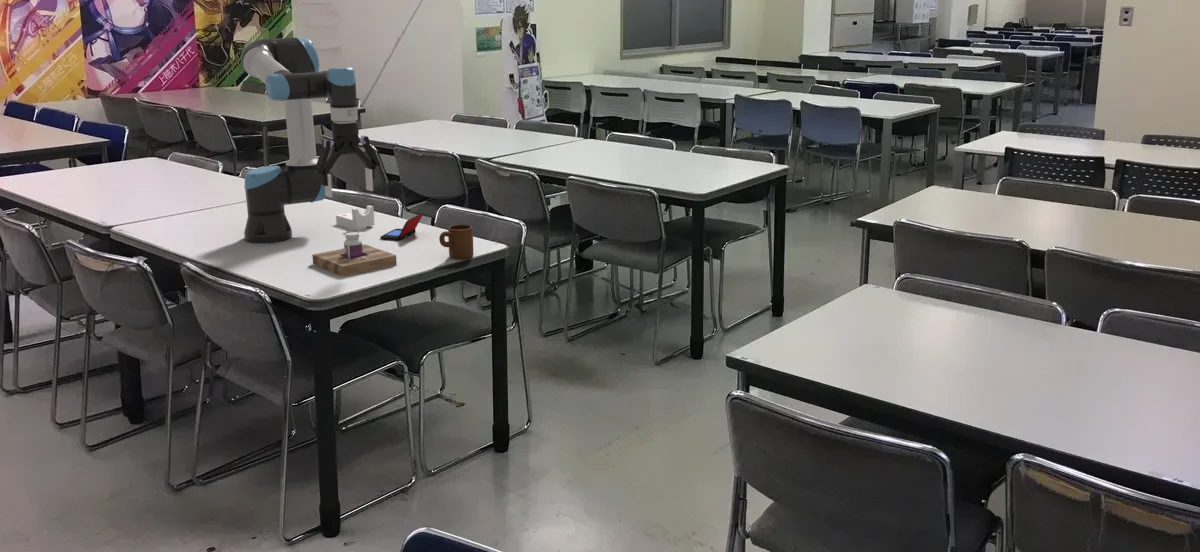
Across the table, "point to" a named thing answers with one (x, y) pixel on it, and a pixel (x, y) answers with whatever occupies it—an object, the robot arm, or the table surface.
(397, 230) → the handheld game console
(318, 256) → the board
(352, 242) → the pill bottle
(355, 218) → the bracket
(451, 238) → the mug
